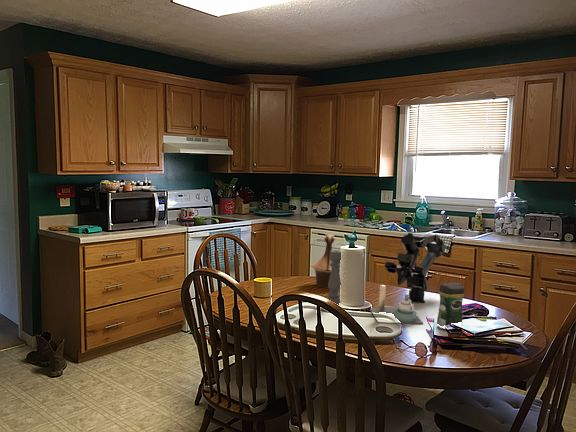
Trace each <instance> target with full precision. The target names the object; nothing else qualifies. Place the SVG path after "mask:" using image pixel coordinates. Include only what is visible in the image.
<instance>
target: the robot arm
mask: <svg viewBox="0 0 576 432" xmlns="http://www.w3.org/2000/svg"><path fill="white" fill-rule="evenodd" d="M400 241H401V244H402V247H403V249H404V250H405V253H401V252H399V253H397V256H396V261H398V262H397V263H398V264H396V263H395V262H394V261H389V260H388V261H387V260H386V262H385V263H384V267H385V269H386V271H387V272H388V273H390V274H395V273H396V274H397V285H398V286H401V285H402V284H403V283H406V285H407V288H409V290H408V299H409V300H411V303H412V302H413V303H425V302H426V301H425V291H428V287H429V284H428V280H427V277H426V276H427V273H428V272H429V270H430V269H431V266H433V263H434V262H435V260H436V259H438V258H439V257H442V255H443V254H444V253H445V251H446V245H445V242H444V240H442V239H441V238H440V237H439V234H437V233H427V234H423V235H416V234H413V233H412V232H408V233H407V234H405V235H403V236H402V237H401V239H400ZM425 247H426V251H427V252H426V254H425V256H424V258H423V259H422V260H421V262H420V263H419V265H417V260H418V257H421V250H420V249H424V248H425Z"/></svg>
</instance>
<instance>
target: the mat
mask: <svg viewBox="0 0 576 432" xmlns="http://www.w3.org/2000/svg"><path fill="white" fill-rule="evenodd" d="M370 308H371V309H370V310H369V311H370V312H375V313H379V312H380V311H378V308H379V307H370ZM384 312H386V313H392V314H394V313H395V310H387V309H385V311H384ZM400 322H401V321H400ZM401 324H405V325H407V324H408V325H424V322H423V320H422V319H420V318H419V316H418V315H417V314H416V321H415V322H401ZM401 324H400V325H401Z"/></svg>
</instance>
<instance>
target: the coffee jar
mask: <svg viewBox="0 0 576 432" xmlns="http://www.w3.org/2000/svg"><path fill="white" fill-rule="evenodd" d="M438 294H439V307H438V313H437V320H436V325H437V324H439V325H440V326H444V325H448V324H451V323H458V322H462V323H463V299H464V296H465V287H464V284H461V283H459V282H448V283H441V284H440V285H439V290H438Z"/></svg>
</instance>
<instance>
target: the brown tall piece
mask: <svg viewBox="0 0 576 432" xmlns="http://www.w3.org/2000/svg"><path fill="white" fill-rule="evenodd" d="M324 236H325V237H323V239H324V241H325V243H326V247H325V252H324V253H323V255H322V257H321V258H320V259H319V260H318V261H316V262H315V263H313V264H311V265H310V267H311V268H313V269H314V271H315V285H316V286H317V287H320V288H323V289H324V288H325V289H329V287H328V283H329V279H330V276H331V268H332V267H331V266H330V264H331V263H332V262H331V258H330V251H331V250H333V246H332V245H333V243H334V242H335V241H336V238H335V235H334V234H331V233H329V234H324Z"/></svg>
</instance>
